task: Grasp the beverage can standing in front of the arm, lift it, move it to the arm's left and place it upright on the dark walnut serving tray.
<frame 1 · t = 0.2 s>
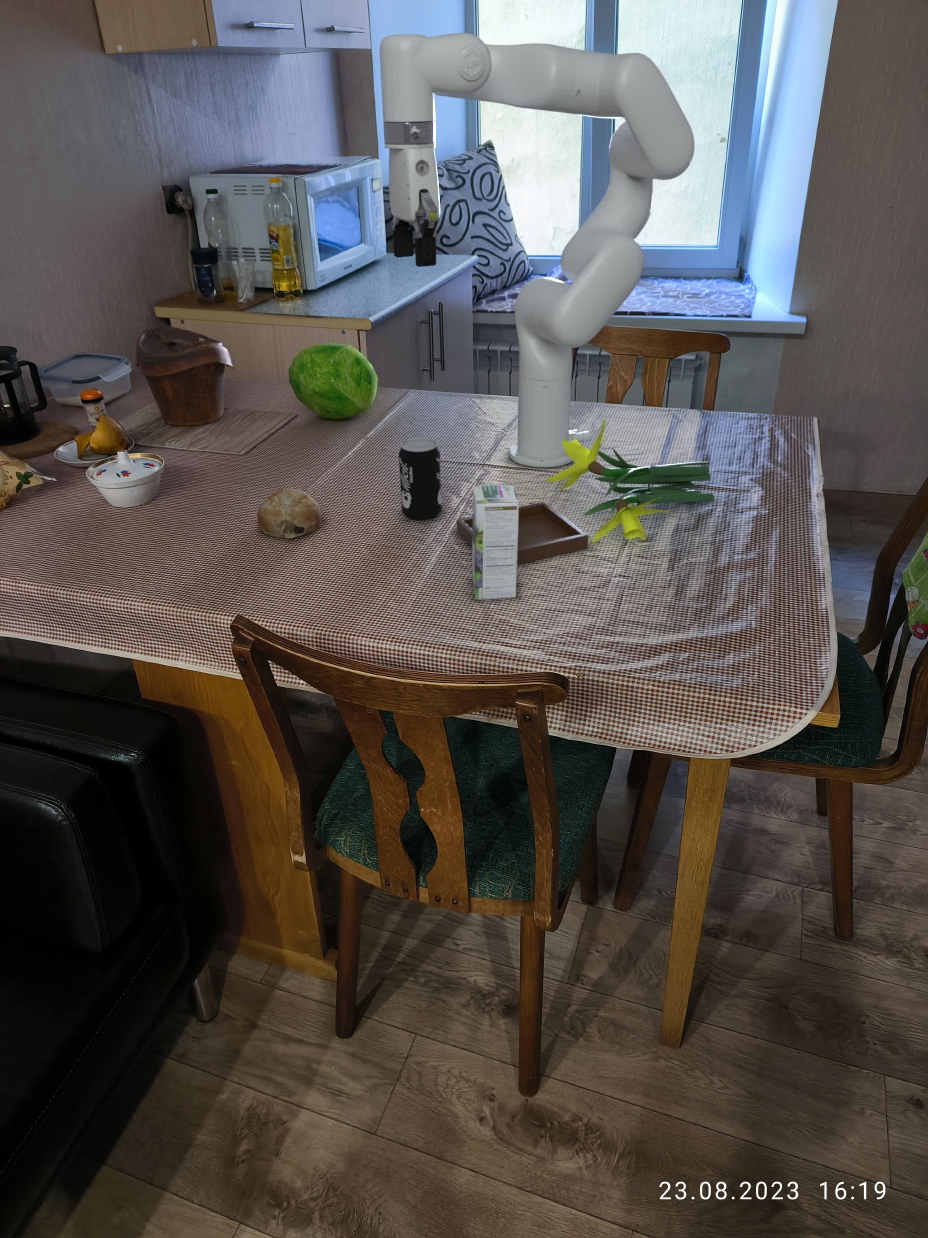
hand: (414, 260, 135), 36 cm above the table, tool pointing down, fingers open, 9 cm apart
syrup box: (494, 590, 120), on the table
daffodil flowers: (637, 522, 138), on the table
lettuce: (337, 416, 185), on the table
brown tapered bucket shape: (195, 417, 186), on the table
bread roll: (289, 527, 138), on the table
beverage can: (422, 514, 141), on the table
tray: (520, 540, 132), on the table
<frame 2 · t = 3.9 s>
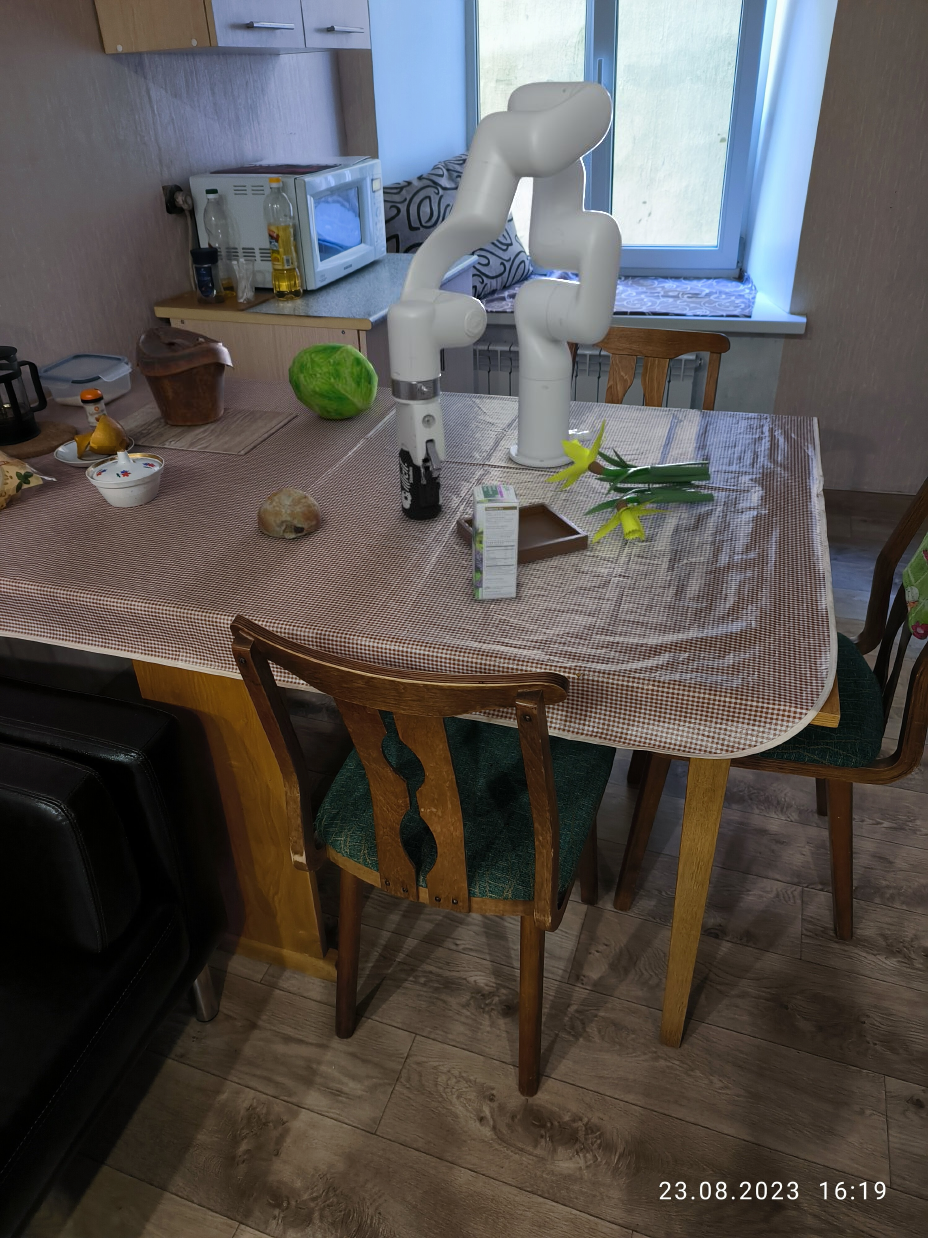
hand: (421, 495, 140), 3 cm above the table, tool pointing down, fingers closed on beverage can, 6 cm apart
beverage can: (422, 514, 142), on the table, touching gripper
everything else where it was.
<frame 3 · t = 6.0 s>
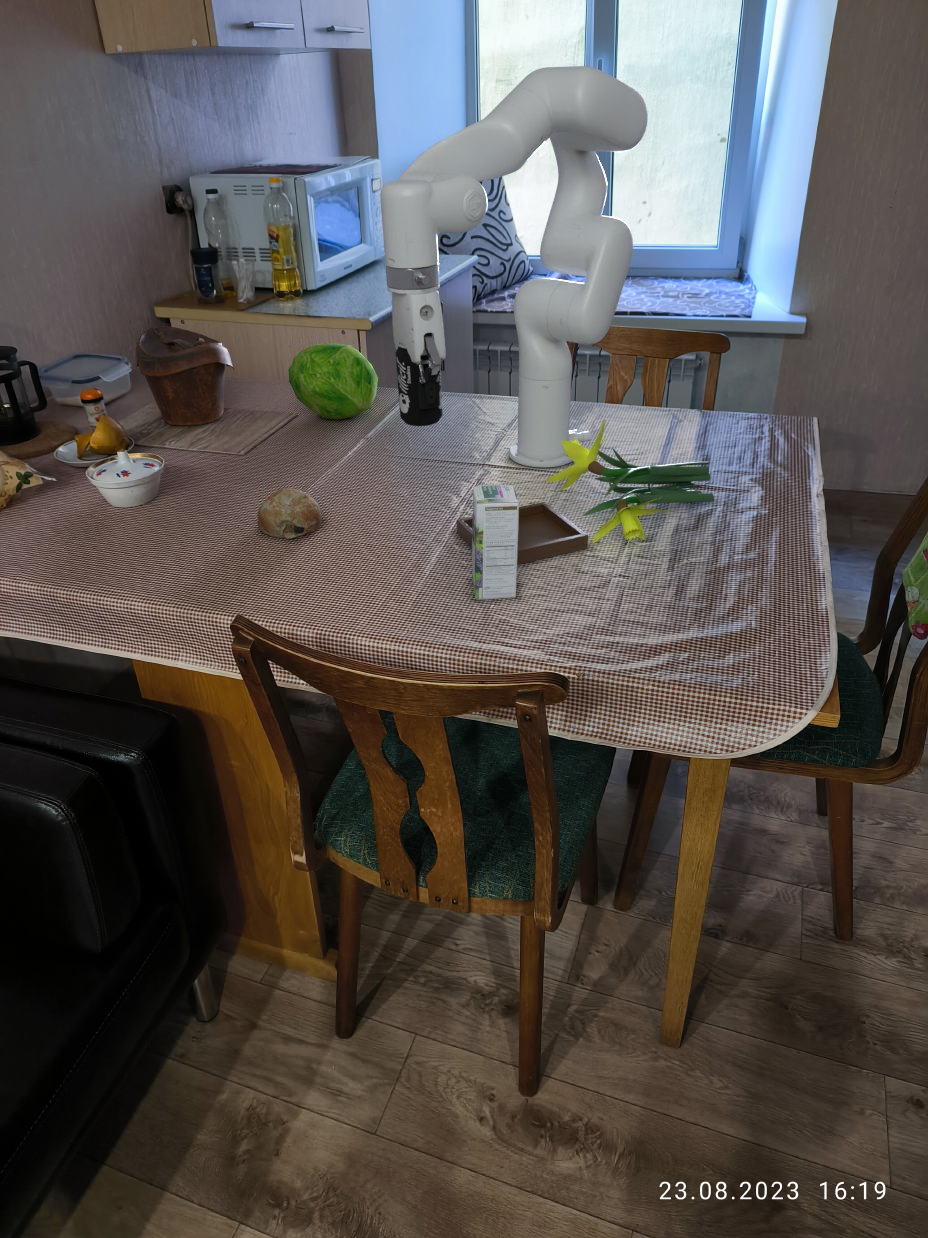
hand: (420, 399, 132), 19 cm above the table, tool pointing down, fingers closed on beverage can, 6 cm apart
beverage can: (421, 421, 134), point 15 cm above the table, touching gripper
everything else where it was.
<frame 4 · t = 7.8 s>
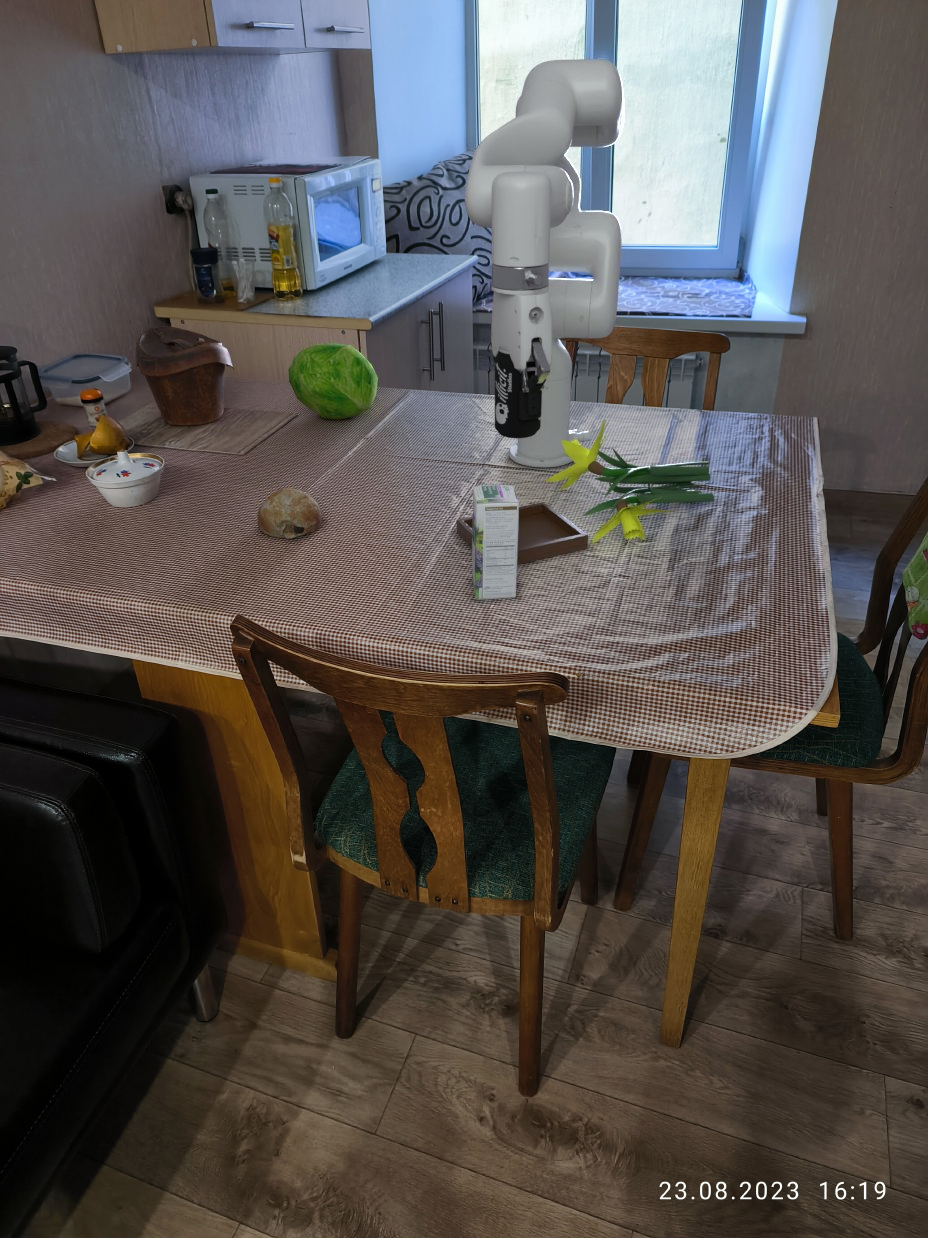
hand: (518, 410, 122), 20 cm above the table, tool pointing down, fingers closed on beverage can, 6 cm apart
beverage can: (517, 433, 124), point 17 cm above the table, touching gripper
everything else where it was.
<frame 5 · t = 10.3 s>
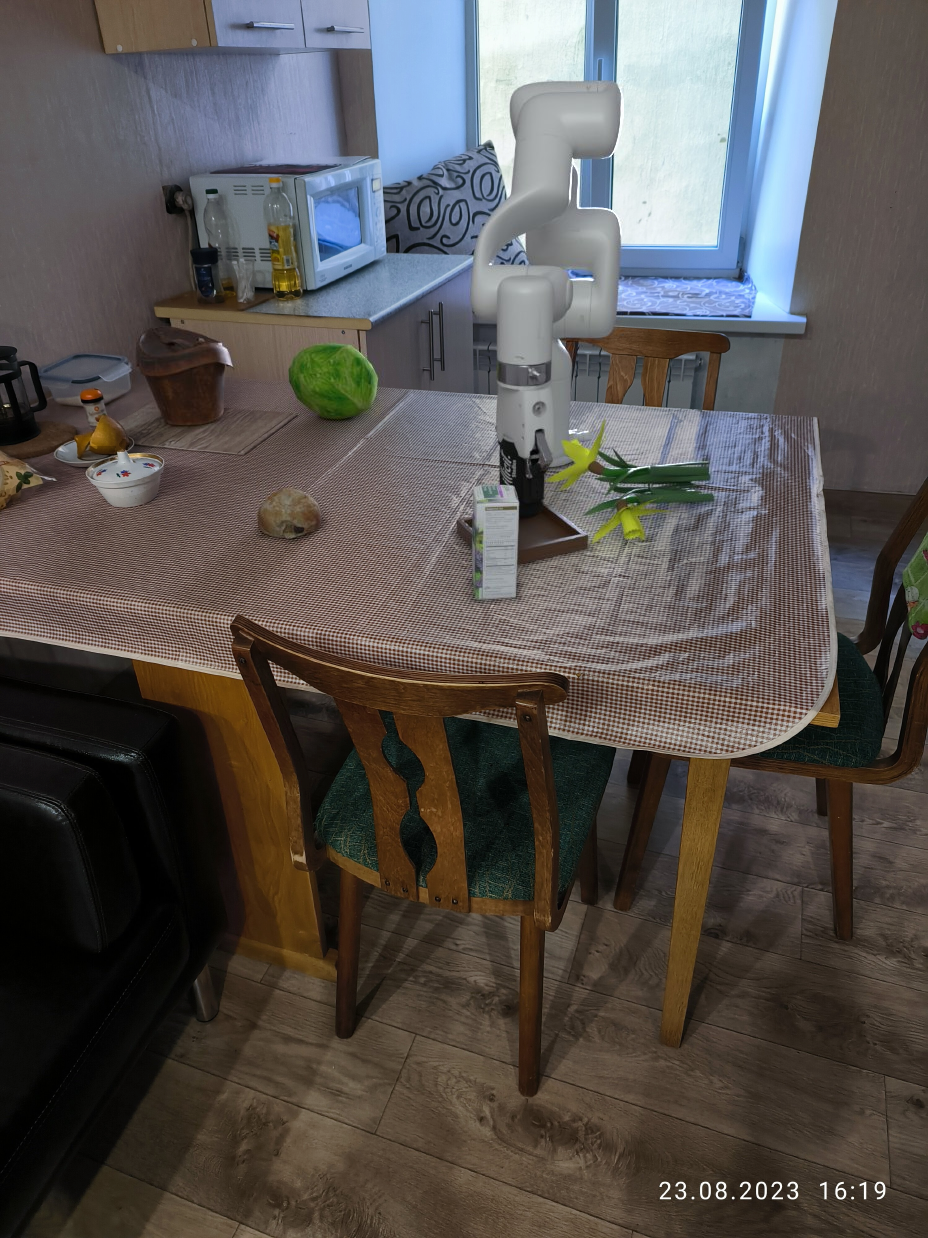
hand: (521, 491, 128), 8 cm above the table, tool pointing down, fingers closed on beverage can, 6 cm apart
beverage can: (521, 512, 130), point 5 cm above the table, touching gripper
everything else where it was.
when the fingers open (4 cm above the table, at t = 11.9 s): beverage can stays where it is, resting on tray.
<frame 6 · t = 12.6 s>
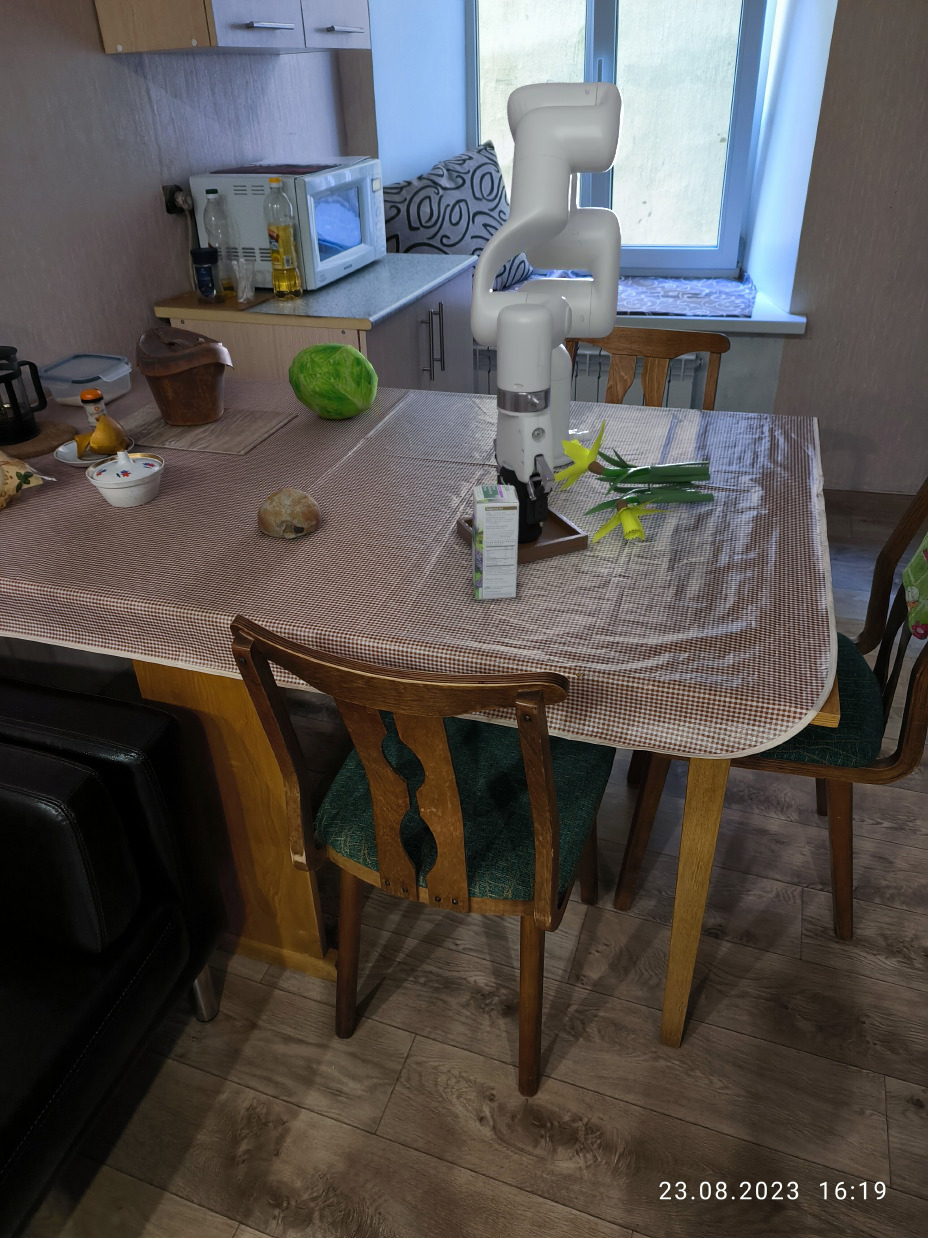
hand: (521, 509, 130), 5 cm above the table, tool pointing down, fingers open, 9 cm apart
beverage can: (520, 537, 132), point 1 cm above the table, touching tray
everything else where it was.
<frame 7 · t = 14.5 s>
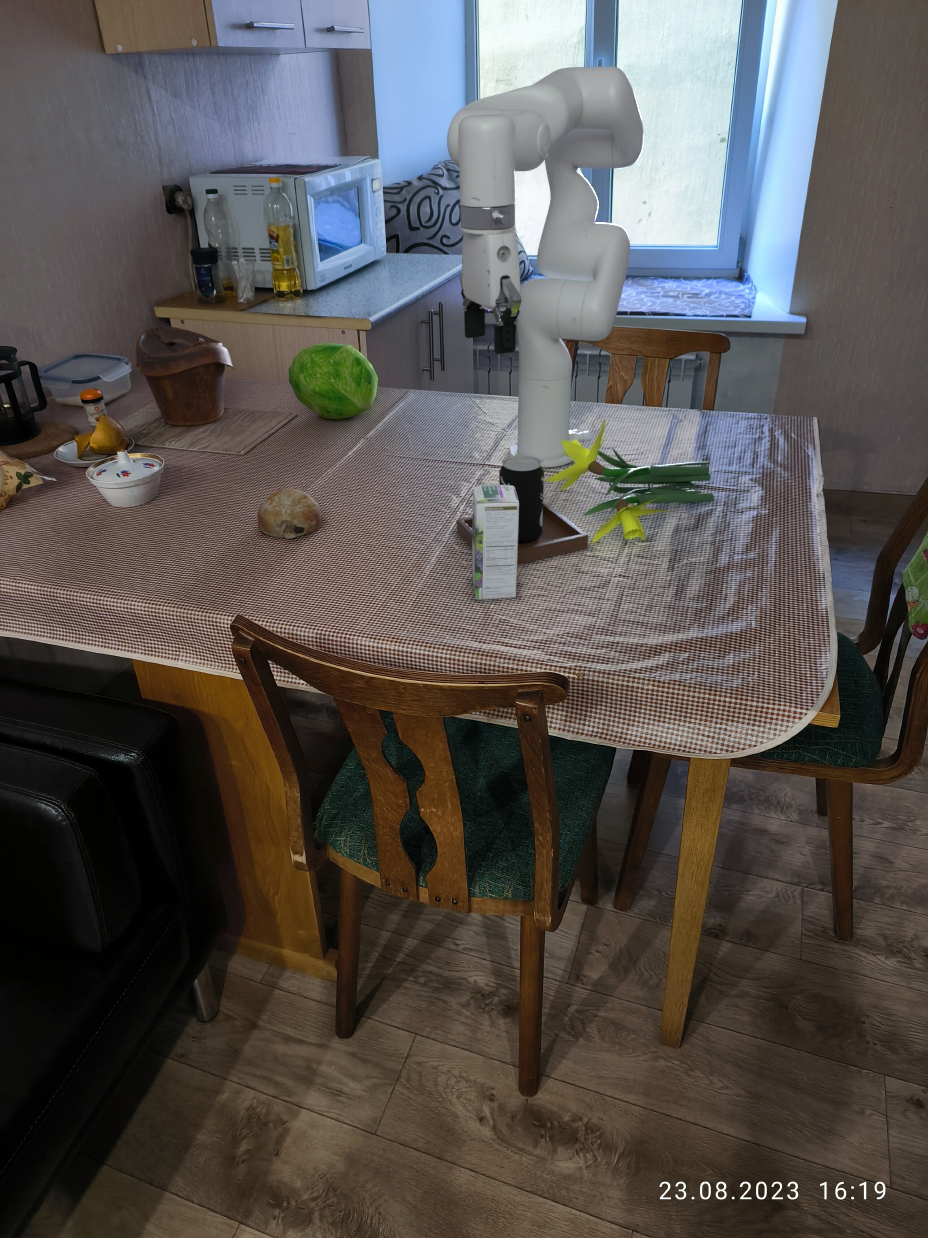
hand: (489, 344, 127), 27 cm above the table, tool pointing down, fingers open, 9 cm apart
nothing on the table moved.
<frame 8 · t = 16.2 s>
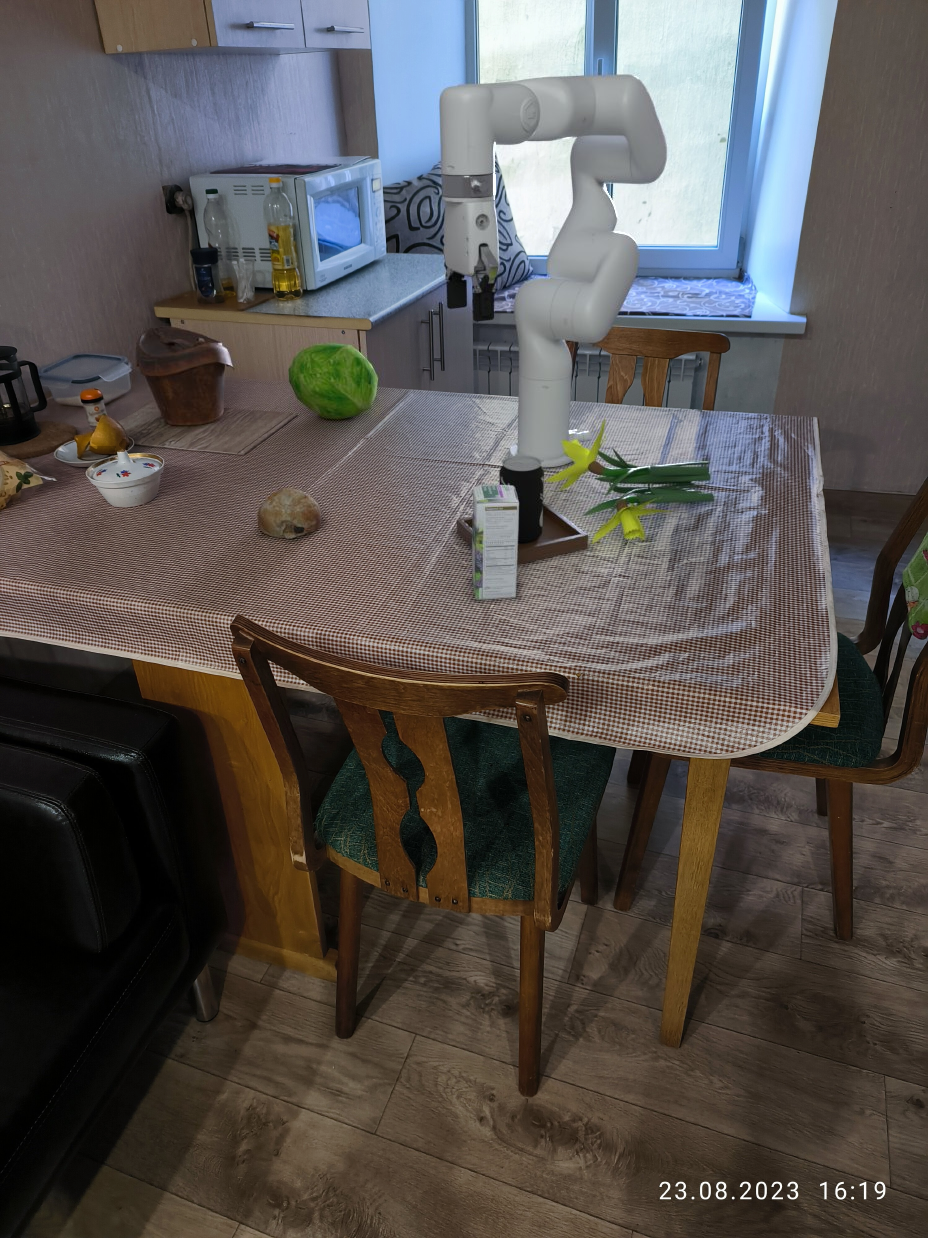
hand: (470, 313, 130), 30 cm above the table, tool pointing down, fingers open, 9 cm apart
nothing on the table moved.
at the end: beverage can inside the target area in the tray (0.0 cm from its centre), point 0.6 cm above the tray's base; beverage can tilted 0°; the gripper is holding nothing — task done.
